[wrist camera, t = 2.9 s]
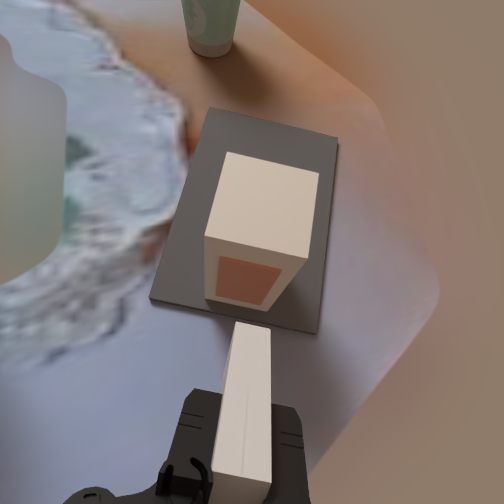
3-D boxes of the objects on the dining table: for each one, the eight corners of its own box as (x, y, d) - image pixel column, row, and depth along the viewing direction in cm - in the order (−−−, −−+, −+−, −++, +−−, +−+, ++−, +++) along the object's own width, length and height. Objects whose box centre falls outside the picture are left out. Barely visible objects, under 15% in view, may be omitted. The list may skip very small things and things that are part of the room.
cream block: (266, 313, 32) (307, 261, 19) (204, 300, 32) (203, 238, 19) (276, 254, 35) (318, 173, 22) (218, 241, 34) (226, 151, 21)
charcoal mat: (314, 334, 33) (316, 333, 32) (149, 299, 32) (148, 297, 31) (336, 140, 42) (337, 137, 41) (209, 110, 41) (209, 106, 41)
